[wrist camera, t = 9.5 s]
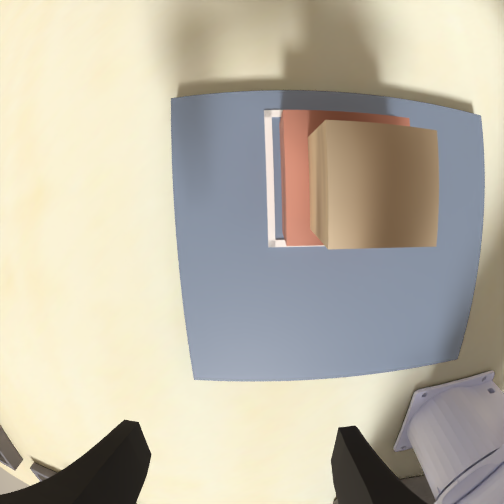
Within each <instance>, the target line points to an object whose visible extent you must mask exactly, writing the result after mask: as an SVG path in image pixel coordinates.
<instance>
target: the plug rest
mask: <svg viewBox="0 0 504 504" xmlns="http://www.w3.org/2000/svg"><path fill="white" fill-rule="evenodd" d="M30 469H31V470H32V472H33V473H34V474H35V475H36V477H37V478H38V479H39V480H40V482H41V481H43V480H45V479H47V478H49V477H51V476H53V475H55V474H56V473H57V472H54V471H52V470H50V469H48V468H45V467H43V466H41V465H39V464H37V463H35V462H34V463H33V464H32V466H31V467H30Z"/></svg>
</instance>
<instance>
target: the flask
mask: <svg viewBox="0 0 504 504" xmlns="http://www.w3.org/2000/svg"><path fill="white" fill-rule="evenodd" d="M401 481H402V482H403V483H404V484H405V485H406V486H407V487H408V488H409V489H410V490H411V491H412V492H414V493H415V494H416V495H417V496H418V497H420V498H421V499H422V500H424V501H425V502H426V503H428V504H434V503H435V502H436V500H435V498H434V495H433V493H432V491H431V488H430V486H429V483H428V481H427V479H426V477H425V476H418V477H412V478H406V479H401ZM333 504H338V500H337V499H336V500H335V501H334V502H333Z"/></svg>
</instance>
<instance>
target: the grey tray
mask: <svg viewBox="0 0 504 504" xmlns="http://www.w3.org/2000/svg"><path fill="white" fill-rule="evenodd" d="M22 460H23V459H22V457H21V456H20V454H19V453H18V452H17V450H16V449H15V447H14V446H13V444H12V443H11V441H10V440H9V438H8V437H7V435H6V434H5V432H4V430H3V429H2V427H1V426H0V462H1V463H3V464H5V465H6V466H8V467H10V468H12V469H13V470H16V469H17V467H18V466H19V464H20V463H21V462H22Z"/></svg>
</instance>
